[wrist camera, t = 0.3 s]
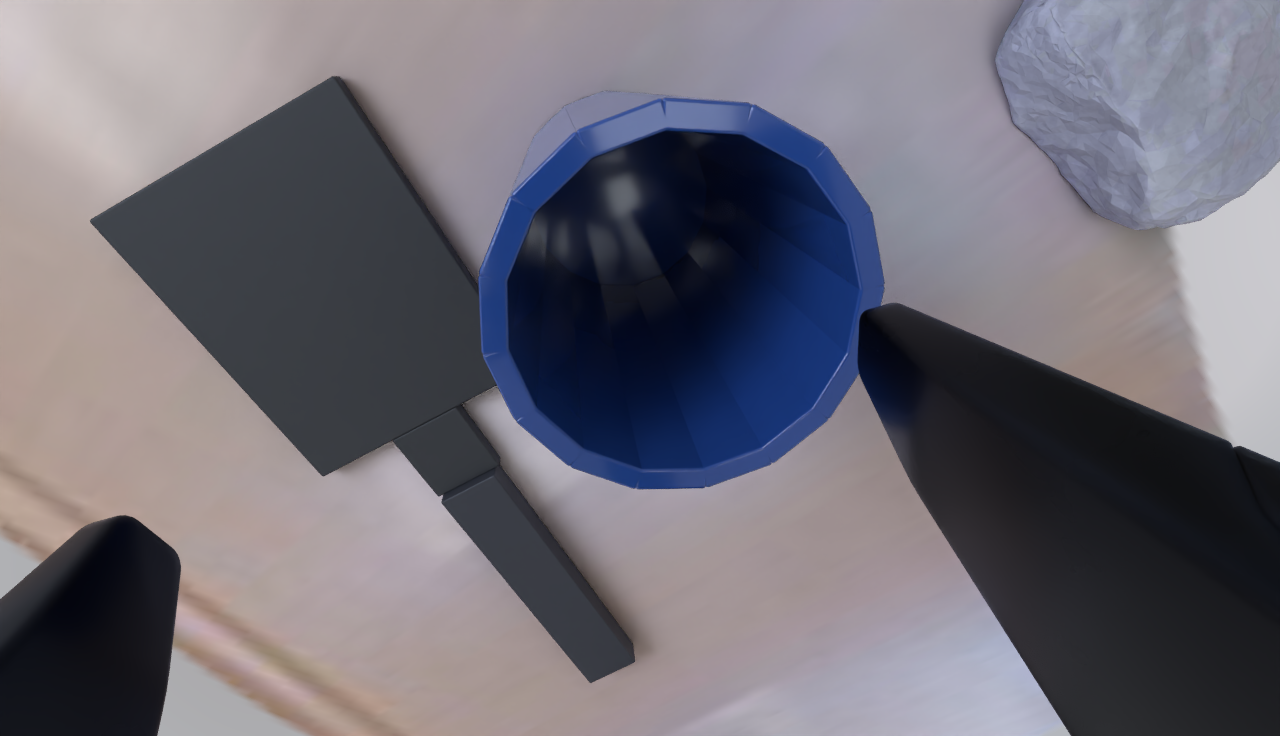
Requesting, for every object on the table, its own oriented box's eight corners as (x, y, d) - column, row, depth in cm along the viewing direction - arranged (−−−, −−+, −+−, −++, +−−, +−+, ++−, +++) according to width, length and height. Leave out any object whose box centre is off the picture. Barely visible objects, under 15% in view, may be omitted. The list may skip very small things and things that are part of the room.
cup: (661, 319, 24) (758, 531, 12) (489, 246, 22) (421, 418, 11) (748, 149, 22) (960, 219, 10) (567, 52, 20) (583, 8, 8)
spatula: (694, 613, 30) (699, 632, 29) (529, 692, 31) (528, 713, 30) (340, 75, 19) (328, 74, 18) (100, 217, 20) (76, 224, 19)
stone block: (932, 54, 23) (1103, 246, 24) (1008, 16, 18) (1211, 257, 20) (1213, -240, 21) (1379, -6, 22) (1381, -370, 16) (1574, -62, 18)
